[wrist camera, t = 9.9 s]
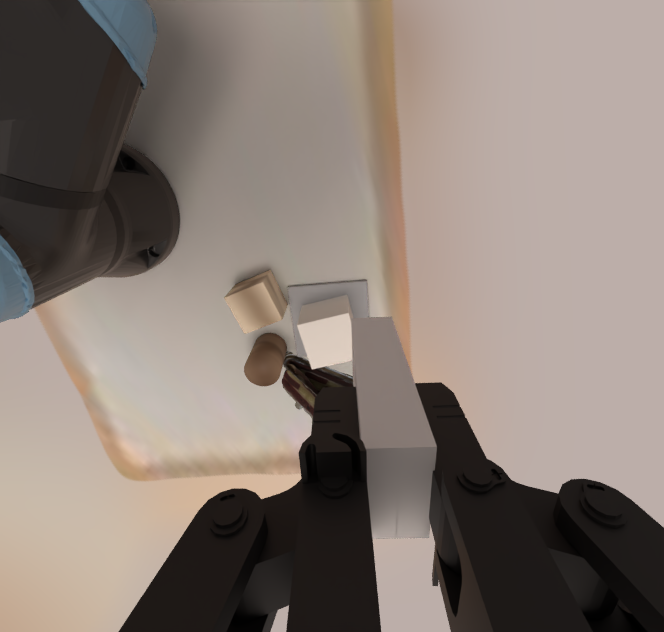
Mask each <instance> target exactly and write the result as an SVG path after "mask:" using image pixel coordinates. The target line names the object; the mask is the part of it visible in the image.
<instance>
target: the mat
mask: <svg viewBox="0 0 664 632" xmlns="http://www.w3.org/2000/svg"><path fill="white" fill-rule="evenodd" d="M287 289H288V296H289V302H290V309H291V316H292V323H293V330H294V337H295V344H296V350H297V357H303V356H307V354H306V351H305V348H304V345H303V342H302V339H301V336H300V333H299V330H298V327H297V323H298V319H299V315H300V311H301V307H302V306H303V305H307V304H311V303H315V302H319V301H323V300H327V299H331V298H335V297H339V296H343V295H348V299H349V303H350V307H351V310H352V314H353V318H369V311H368V292H367V280H359V281H347V282H334V283H321V284H309V285H296V286H288V287H287Z"/></svg>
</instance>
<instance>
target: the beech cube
mask: <svg viewBox="0 0 664 632" xmlns="http://www.w3.org/2000/svg"><path fill="white" fill-rule="evenodd" d="M224 299H225V300H226V302H227V304H228V306H229V307H230V309H231V311H232V313H233V314H234V316H235V318H236V320H237V321H238V323H239V325H240V327H241V328H242V330H243V332H244V334H246V333H249V332H252V331H254V330H257V329H259V328H262V327H264V326H267V325H270V324H272V323H275V322H277V321H280V320H282V319H283V316H284V313H285V311H286V308H287V305H288V304H287V302H286V300H285V298H284V296H283V294H282V292H281V290H280V288H279V286H278V284H277V282H276V280H275V278H274V276H273V274H272V272H271V270H269V271H267V272H264V273H262V274H259V275H257V276H255V277H252V278H250V279H247V280H245V281H243V282H240V283H238V284H235V286H234V287H233V288H232V289H231V290H230V292H229V293H228V294H227V295H226V296H225V297H224Z"/></svg>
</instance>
